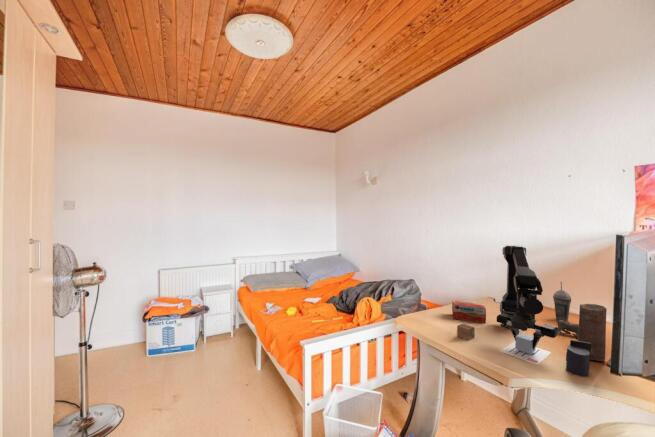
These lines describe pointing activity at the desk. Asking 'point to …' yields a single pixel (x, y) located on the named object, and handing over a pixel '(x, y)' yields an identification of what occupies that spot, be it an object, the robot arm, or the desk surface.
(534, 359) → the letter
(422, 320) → the desk surface
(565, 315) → the beverage cup
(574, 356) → the speaker
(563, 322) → the dog figurine
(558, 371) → the desk surface
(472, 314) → the medicine box
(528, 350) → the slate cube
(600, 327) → the candle
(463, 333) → the walnut block
